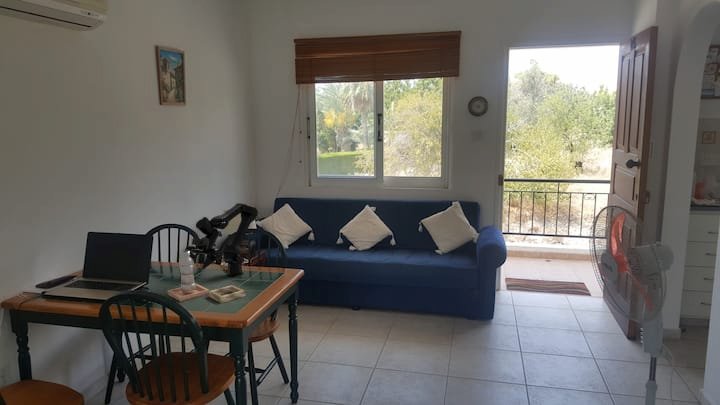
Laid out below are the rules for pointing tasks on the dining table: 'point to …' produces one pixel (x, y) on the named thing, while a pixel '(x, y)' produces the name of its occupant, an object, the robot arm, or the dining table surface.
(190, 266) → the plastic bottle
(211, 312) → the dining table surface
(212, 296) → the collar
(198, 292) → the tray
